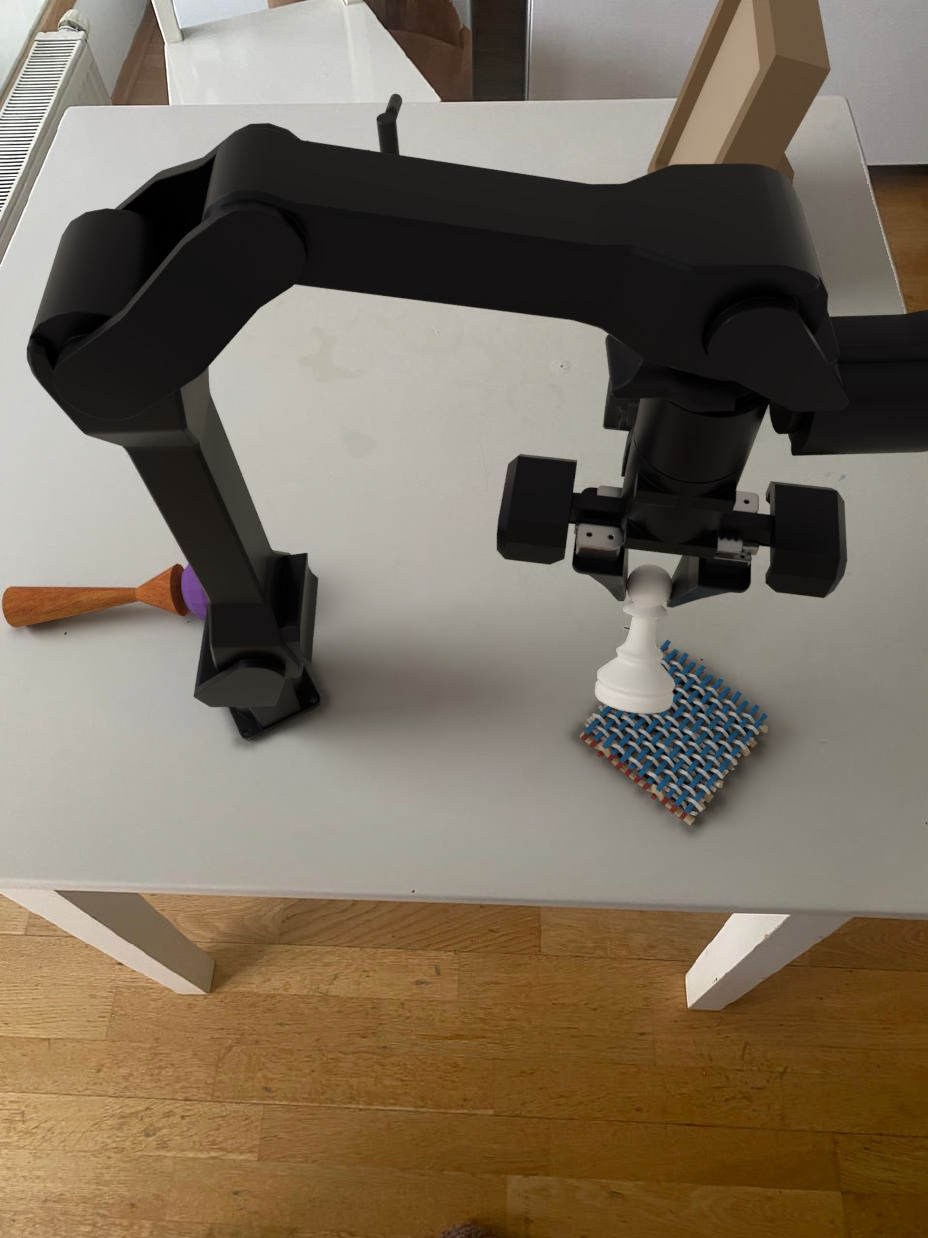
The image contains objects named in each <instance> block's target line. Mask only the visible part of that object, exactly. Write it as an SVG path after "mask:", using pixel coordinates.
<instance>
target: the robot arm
mask: <svg viewBox="0 0 928 1238" xmlns="http://www.w3.org/2000/svg"><path fill="white" fill-rule="evenodd" d="M45 284H46V285H45V286H44V290H43V294H42V296H41V300H40V303H39V307H38V309H37V313H36V316H35V319H34V322H33V326H32V328H31V332H30V334H29V338H28V342H27V346H26V361H27V363H28V364H27V365H28V366H29V369H30V372H31V374H32V375H33V377H34V378H35V379H36V381H37V382H38V384H39V385H40V386H41V387H42V388H43V390H44V391H45V392H46V393H47V394H48V396H49V397H50V398H51V399H53V401H54V402H55V404H56V405H57V406H58V407H59V408H60V409H61V411H62V412H63V413H64V414H65V415H66V416H67V417H68V418H69V419H70V421H71V422H72V423H73V424H74V425H75V427H77V429H78V430H80V432H81V433H83V434H84V435H85V436H87V437H90V438H93V439H96V440H97V439H98V440H101V441H103V442H107V443H109V444H114V445H116V446H120V447H122V448H123V449H124V451H125V452H126V454H127V456H128V457H129V459H130V460H131V462H132V464H133V467H134V468H135V470H136V471H137V473H138V475H139V477H140V479H141V481H142V482H143V484H144V486H145V488H146V489H147V491H148V493H149V495H150V497H151V498H152V500H153V502H154V504H155V506H156V507H157V509H158V511H159V513H160V515H161V516H162V519H163V520H164V522H165V523H166V525H167V527H168V529H169V531H170V532H171V534H172V536H173V538H174V540H175V542H176V544H177V545H178V547H179V549H180V551H181V552H182V554H183V556H184V558H185V560H186V562H187V564H189V565H190V567H191V569H192V571H193V572H194V574H195V576H196V578H197V580H198V581H199V583H200V585H201V587H202V589H203V591H204V592H205V594H206V596H207V598H208V604H207V610H206V617H205V620H204V625H203V631H202V638H201V644H200V651H199V657H198V665H197V671H196V676H195V677H196V678H195V683H194V690H193V698H194V699H197V700H198V701H199V702H201V703H203V704H204V705H206V706H207V707H209V708H228V710H229V713H230V715H231V717H232V720H233V722H234V724H235V726H236V728H237V731H238V732H239V735H240V736H241V738H242V739H243V740H245V741H250V740H252V739H254V738H256V737H259V736H261V735H263V734H265V733H267V732H270V731H272V729H275V728H277V727H279V726H281V725H283V724H286V723H287V722H289V721H291V720H293V719H296V718H297V717H299V716H301V715H304V714H306V713H307V712H310V711H312V710H314V709H316V708H318V707H319V706H321V704H322V698H321V696H320V694H319V691H318V690H317V688H316V686H315V684H314V682H313V680H312V678H311V675H310V673H309V671H308V669H307V668H306V666H305V664H307V665H310V664H312V662H313V658H312V657H313V651H314V650H313V649H314V637H315V635H314V634H315V626H316V625H315V624H316V613H317V602H318V591H319V590H318V589H319V577H318V576H317V575H316V574H314V573H313V571H312V570H311V567H310V566H309V565H310V564H309V553H308V552H300V553H290V552H288V551H280V550H273V548H272V546H271V543H270V542H269V538H268V536H267V533H266V531H265V529H264V526H263V524H262V521H261V519H260V516H259V514H258V511H257V509H256V506H255V504H254V501H253V498H252V495H251V493H250V490H249V488H248V485H247V483H246V480H245V478H244V475H243V473H242V470H241V467H240V465H239V462H238V459H237V457H236V455H235V452H234V450H233V447H232V445H231V443H230V442H231V441H230V440H229V437H228V435H227V432H226V429H225V427H224V424H223V422H222V419H221V416H220V415H219V412H218V409H217V406H216V404H215V401H214V399H213V397H212V394H211V388H210V368H209V367H210V365H211V364H212V363H213V362H214V361H215V360H216V359H217V357H218V356H219V355H220V354H221V353H222V352H223V351H224V349H226V347H227V346H228V345H229V344H230V343H231V341H232V340H233V339H234V338H235V337H236V336H237V335H238V334H239V332H240V331H241V330H242V329H243V328H244V327H245V325H247V324H248V322H249V321H250V320H251V319H252V318H253V317H254V315H255V314H256V313H257V312H258V311H259V310H260V309H261V308H262V307H264V306H266V304H269V303H270V302H272V301H273V300H274V299H276V298H277V297H280V296H281V295H282V294H284V293H285V292H287V291H288V290H289V289H291V288H293V287H294V286H302V287H309V288H315V289H316V288H317V289H325V290H332V291H340V292H348V293H356V294H363V295H372V296H379V297H387V298H394V299H402V300H403V299H404V300H409V301H410V300H411V301H418V302H425V303H427V302H428V303H433V304H434V303H435V304H441V305H450V306H458V307H465V308H472V309H473V308H474V309H481V310H488V311H489V310H490V311H497V312H503V313H512V314H521V315H528V316H534V317H535V316H536V317H543V318H550V319H558V320H567V321H571V322H577V323H580V324H584V325H588V326H591V327H594V328H598V329H600V330H601V331H603V332H605V333H607V335H606V337H605V339H604V343H605V351H606V359H607V368H608V381H607V382H608V383H607V388H606V389H607V390H606V396H605V404H604V411H603V420H602V421H603V422H602V428H603V429H604V430H609V431H620V432H628V433H627V434H626V435H627V436H626V441H625V446H624V452H623V456H622V464H621V474H620V476H621V477H622V478H623V482H622V486H621V487H619V486H611V485H599V486H598V487H595V486H594V487H593V486H589V487H586V488H584V489H583V490H581V492H574V489H575V481H576V474H577V465H578V459H571V458H563V457H551V456H546V455H545V456H544V455H534V454H527V453H519V454H518V455H517V456H515V458H513V459H512V460H511V461H510V462H508V464H507V468H506V473H505V478H504V485H503V490H502V496H501V500H500V501H501V502H500V506H499V513H498V518H497V525H496V526H497V527H496V551H497V552H498V553H499V555H500V556H501V557H502V558H503V559H504V560H506V561H507V560H508V561H515V562H517V561H518V562H524V563H533V564H540V565H548V566H550V565H553V564H555V563H557V562H560V561H563V560H565V558H566V550H567V543H568V535H569V526H570V525H574V531H573V534H574V543H573V544H574V545H573V552H572V559H571V568H572V570H573V571H574V572H575V573H577V574H580V575H586V576H589V577H591V578H592V579H593V580H595V581H596V582H598V583H599V584H600V585H602V586H604V588H605V589H606V590H607V591H608V592H609V594H611V595H612V596H613V597H614V598H615V600H616V601H617V602H625V600H626V599H627V593H628V592H627V580H628V577H629V550H634V551H643V552H650V553H658V554H668V555H676V556H680V559H679V562H678V563H677V566H676V568H675V570H674V571H673V574H672V575H671V580H672V585H673V587H672V592H671V595H670V597H669V599H668V600H667V601H666V608H670V609H673V608H676V607H679V606H683V605H686V604H689V603H692V602H695V601H698V600H702V599H707V598H710V597H716V596H719V595H724V594H729V593H730V594H731V593H733V594H743V593H745V592H747V591H748V590H749V589H750V587H751V584H752V560H753V558H752V556H757V554H758V552H759V550H760V547H765V548H769V566H768V568H767V570H766V572H765V576H764V577H765V579H764V580H765V581H764V582H765V584H766V585H767V586H768V587H769V588H770V589H771V590H773V591H774V593H778V594H785V595H786V594H787V595H796V596H802V597H803V596H804V597H812V598H818V599H825V598H827V597H828V596H829V595H831V594H832V593H834V592H835V590H836V589H837V588H838V586H839V584H840V583H841V581H842V579H843V578H844V577H845V574H846V573H845V572H846V569H847V563H848V544H847V543H848V542H847V525H846V522H847V521H846V505H845V503H846V502H845V500H844V499H843V497H842V495H841V494H840V492H839V491H838V490H837V489H835V488H833V487H829V486H819V485H811V484H802V483H791V482H782V481H772V480H770V482H769V484H768V487H767V488H766V491H765V502H766V503H768V504H769V513H759V509H760V496H759V494H757V493H756V492H752V491H743V490H737V488H738V486H739V483H740V481H741V478H742V476H743V473H744V470H745V467H746V464H747V462H748V460H749V457H750V454H751V452H752V449H753V447H754V444H755V442H756V439H757V436H758V434H759V431H760V428H761V425H762V424H763V421H764V419H765V416H766V413H767V411H768V410H769V418H770V423H771V426H772V428H773V430H774V432H775V433H776V434H777V435H787V436H788V439H789V442H790V453H791V454H790V455H791V456H793V457H803V456H804V457H805V456H807V457H809V456H838V455H841V456H843V455H877V454H878V455H879V454H909V453H910V454H913V453H915V454H916V453H925V452H926V453H927V452H928V309H924V310H923V309H922V310H917V311H916V310H915V311H912V312H906V313H899V314H870V315H869V314H865V315H835V316H833V315H832V316H831V315H830V314H829V309H828V308H829V307H828V303H829V293H828V290H827V285H826V283H825V279H824V276H823V273H822V269H821V265H820V262H819V260H818V256H817V252H816V248H815V245H814V242H813V239H812V235H811V232H810V228H809V225H808V222H807V219H806V215H805V212H804V208H803V205H802V203H801V201H800V198H799V196H798V194H797V191H796V188H795V187H794V185H791V182H790V180H789V178H787V177H786V176H785V175H783V174H782V173H781V172H780V171H778V170H775V169H773V168H770V167H767V166H765V165H760V164H748V163H736V164H674V165H670V166H667V167H665V168H662V169H660V170H657V171H655V172H652V173H649V174H647V173H646V174H645V175H642V176H639V177H637V178H635V179H632V180H629V181H627V182H622V183H587V182H579V181H574V180H566V179H560V178H554V177H547V176H540V175H535V174H527V173H521V172H514V171H507V170H501V169H494V168H488V167H481V166H475V165H469V164H462V163H455V162H448V161H442V160H434V159H429V158H421V157H416V156H410V155H409V156H408V155H404V154H403V155H402V154H400V155H396V154H390V153H383V152H380V151H377V150H370V149H365V148H364V149H362V148H356V147H349V146H344V145H336V144H330V143H323V142H317V141H310V140H305V139H301V138H300V137H298V136H297V135H296V134H295V133H294V132H292V131H291V130H289V129H288V128H285V127H283V126H279V125H276V124H273V123H270V122H259V123H258V122H257V123H248V124H246V125H244V126H243V127H240V128H239V129H236V130H235V131H233V132H232V133H230V134H229V135H228V136H227V137H226V138H225V139H223V140H222V141H220V143H219V144H217V145H216V146H215V147H214V148H212V149H211V150H210V151H209V152H208V153H206V154H205V155H204V156H201V157H200V158H196V159H193V160H189V161H187V162H183V163H180V164H178V165H174V166H171V167H168V168H164V169H161V170H160V171H158V172H157V173H155V174H154V175H153V176H152V177H151V178H150V179H148V180H147V181H146V182H144V183H143V184H142V185H141V186H140V187H139V188H137V189H136V190H134V192H133V193H132V194H130V195H129V196H128V197H126V199H124V200H123V201H122V202H121V203H120V204H118V205H117V206H115V208H107V207H106V208H105V207H104V208H100V209H99V208H98V209H95V210H89V211H85V212H84V213H82V214H80V215H78V216H77V217H75V218H73V219H72V220H70V221H69V223H68V225H67V226H66V228H65V229H64V231H63V233H62V234H61V237H60V240H59V243H58V246H57V249H56V252H55V256H54V259H53V262H52V265H51V268H50V271H49V275H48V278H47V281H46V283H45ZM315 699H316V700H315ZM313 700H315V701H314V702H313ZM246 732H249V733H248V734H246Z"/></svg>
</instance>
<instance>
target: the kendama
mask: <svg viewBox="0 0 928 1238" xmlns="http://www.w3.org/2000/svg"><path fill="white" fill-rule="evenodd" d="M137 602H140V603H143V604H145V605H147V606H148V605H149V606H151V607H153V608H154V607H155V608H156V609H160V610H163V611H166V612H168V613H172V614H174V615H177V616H180V617H185V616H187V615H188V614H189V612H192V614H193V615H194V616H196V617H197V618H198V619H199V620H202V621H205V617H206V610H207V604H208V598H207V596H206V594H205V592H204V591H203V589H202V587H201V585H200V583H199V581H198V580H197V578H196V576H195V574H194V572H193V571H192V569H191V567H190V565H189V563H187V565H186V566H185V568H184V567H183V565H182V564H180V563H178V562H177V563H175V564H173V565H171V566H170V567H169V568H167V569H165V570H164V571H162V572H160V573H159V574H156V576H154V577H152V578H150V579H149V580H147V581H146V582H144V583H143V584H140V585H139V586H137V587H124V586H123V587H121V586H120V587H119V586H113V587H111V586H26V585H25V586H19V585H14V586H8V587H6V589H5V590H4V592H3V594H2V598H1V610H2V614H3V617H4V619H5V620H6V623H7V624H8V625H9V626H11V627H12V628H17V629H18V628H22V627H27V626H31V625H36V624H40V623H45V622H49V621H54V620H60V619H63V618H67V617H74V616H77V615H78V616H79V615H81V614H87V613H91V612H96V611H100V610H105V609H111V608H115V607H119V606H124V605H128V604H132V603H137Z"/></svg>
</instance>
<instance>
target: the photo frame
mask: <svg viewBox="0 0 928 1238" xmlns="http://www.w3.org/2000/svg"><path fill="white" fill-rule="evenodd" d="M711 15H712V16H711V17H710V19H709V23H708V24H707V27H706V29H705V32H704V33H703V36H702V38H701V41H700V44H699V46H698V49H697V51H696V53H695V55H694V58H693V60H692V62H691V65H690V67H689V70H688V72H687V75H686V77H685V79H684V82H683V84H682V86H681V89H680V91H679V94H678V96H677V97H676V101H675V102H674V105H673V108H672V110H671V112H670V115H669V117H668V119H667V121H666V125H665V127H664V129H663V132H662V134H661V136H660V139H659V141H658V143H657V146H656V148H655V151H654V153H653V155H652V158H651V160H650V162H649V165H648V167H647V171H646V172H647V173H646V175H647V174H649V173H652V172H655V171H657V170H660V169H662V168H665V167H667V166H670V165H674V164H736V163H748V164H760V165H765V166H767V167H770V168H773V169H775V170H778V171H780V172H781V173H782V174H783V175H785V176H786V177H787V178H789V180H790V182H791V185H792V186H794V185H793V184H794V177H795V171H794V168H793V166H792V164H791V162H790V161H789V158H788V157H787V154H786V151H787V149H788V147H789V146H790V143H791V142H792V140H793V138H794V136H795V135H796V133H797V131H798V129H799V127H800V126H801V123H803V120H804V119H805V117H806V115H807V114H808V111H809V110H810V108H811V106H812V104H813V102H814V101H815V99H816V98H817V95H818V93H820V90H821V88H822V86H823V85H824V83H825V82H826V79H827V77H828V75H829V74H830V72H831V70H832V69H831V64H830V58H829V57H830V56H829V53H828V52H829V51H828V47H827V41H826V35H825V30H824V24H823V19H822V14H821V7H820V3H819V0H718V1H717V4H716V6H715V8H714V10H713V12H712V14H711Z"/></svg>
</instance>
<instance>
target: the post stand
mask: <svg viewBox="0 0 928 1238" xmlns="http://www.w3.org/2000/svg"><path fill="white" fill-rule="evenodd" d="M402 104H403V98H402V96H401V94H399V93H393V94H391V95H390V97H389V99H388V103H387V105H386V108H385V111H384V112H382V113H379V114H378V115H377V116H376V128H377V129H376V130H377V137H378V138H377V139H378V145H379V152H383V153H390V154H396V155H401V154H400V144H399V143H400V142H399V134H398V124H397V123H398V122H397V120H398V116H399V114H400V111H401V108H402V106H403V105H402Z"/></svg>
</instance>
